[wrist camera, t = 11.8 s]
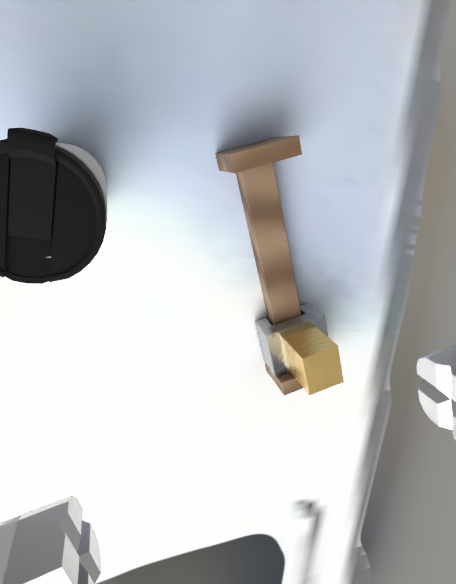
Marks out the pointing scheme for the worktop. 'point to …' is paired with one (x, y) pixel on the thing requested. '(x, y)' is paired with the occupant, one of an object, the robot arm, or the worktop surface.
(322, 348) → the slider
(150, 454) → the worktop surface
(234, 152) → the rail
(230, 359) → the worktop surface
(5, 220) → the travel mug
